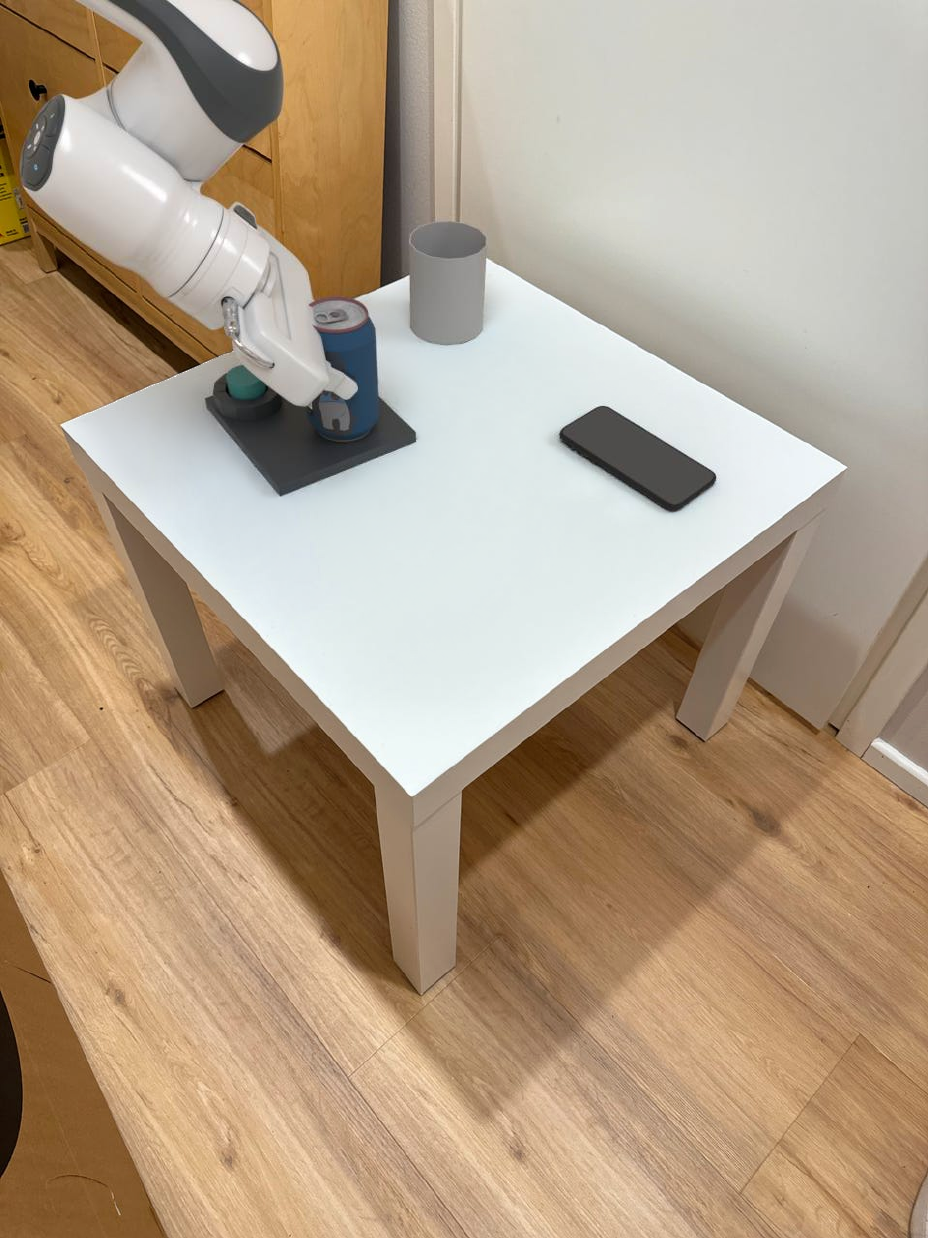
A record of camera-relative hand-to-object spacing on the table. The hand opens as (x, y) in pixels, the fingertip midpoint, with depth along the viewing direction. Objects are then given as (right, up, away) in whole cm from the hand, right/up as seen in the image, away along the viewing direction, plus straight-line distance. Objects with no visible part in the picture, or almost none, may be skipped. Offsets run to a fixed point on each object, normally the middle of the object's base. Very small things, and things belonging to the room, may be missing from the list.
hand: (346, 365), depth 85 cm
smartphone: (+28, -8, +5) cm, 29 cm away
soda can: (-1, -5, +5) cm, 7 cm away
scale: (-5, -4, +7) cm, 9 cm away
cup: (+9, +10, +20) cm, 24 cm away
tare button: (-11, -1, +6) cm, 12 cm away
